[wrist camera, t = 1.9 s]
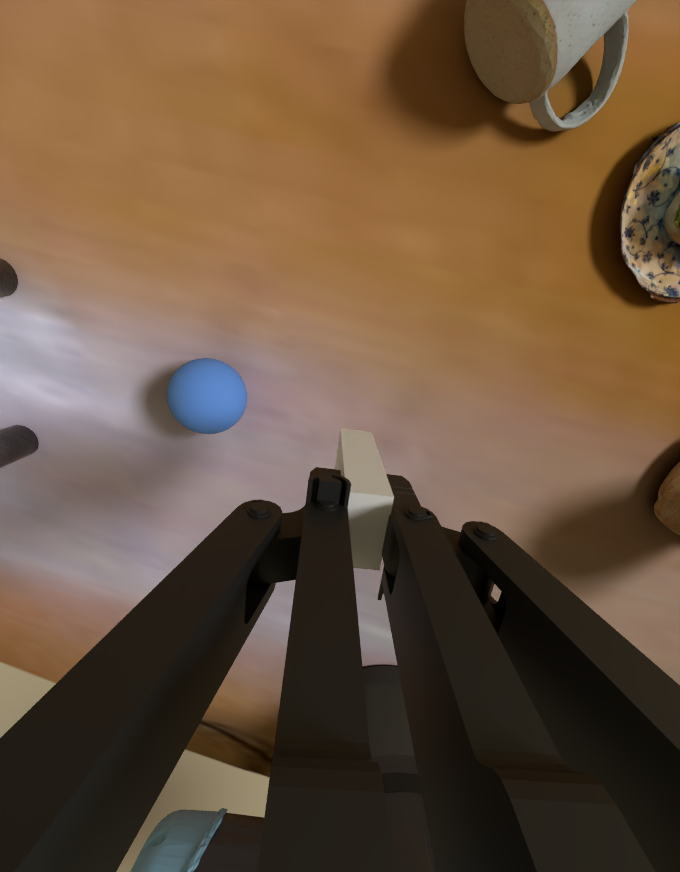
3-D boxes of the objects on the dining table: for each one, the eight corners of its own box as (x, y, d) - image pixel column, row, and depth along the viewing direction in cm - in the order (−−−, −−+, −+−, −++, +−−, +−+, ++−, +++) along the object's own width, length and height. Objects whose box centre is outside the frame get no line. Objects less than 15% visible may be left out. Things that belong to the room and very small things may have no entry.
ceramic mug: (438, 43, 23) (489, -77, 16) (536, -83, 21) (640, -281, 14) (537, 172, 25) (618, 117, 18) (631, 68, 24) (760, -36, 17)
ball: (251, 426, 30) (235, 448, 25) (184, 418, 30) (153, 439, 24) (255, 359, 28) (238, 368, 23) (184, 350, 28) (151, 357, 23)
